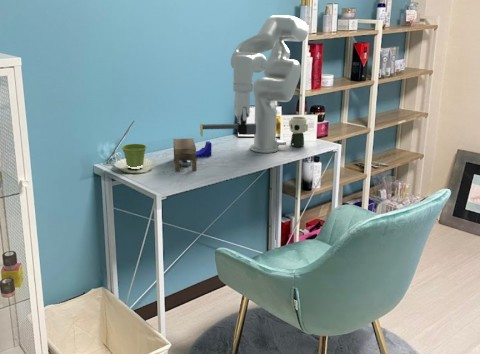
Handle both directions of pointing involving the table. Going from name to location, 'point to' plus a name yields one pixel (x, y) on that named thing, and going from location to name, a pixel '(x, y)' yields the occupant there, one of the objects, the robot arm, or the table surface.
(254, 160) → the table surface
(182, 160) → the steel token
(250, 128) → the scraper
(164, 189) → the table surface
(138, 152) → the plant pot
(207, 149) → the blue shoe
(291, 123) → the character mug
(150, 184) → the table surface
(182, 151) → the brown block with legs
